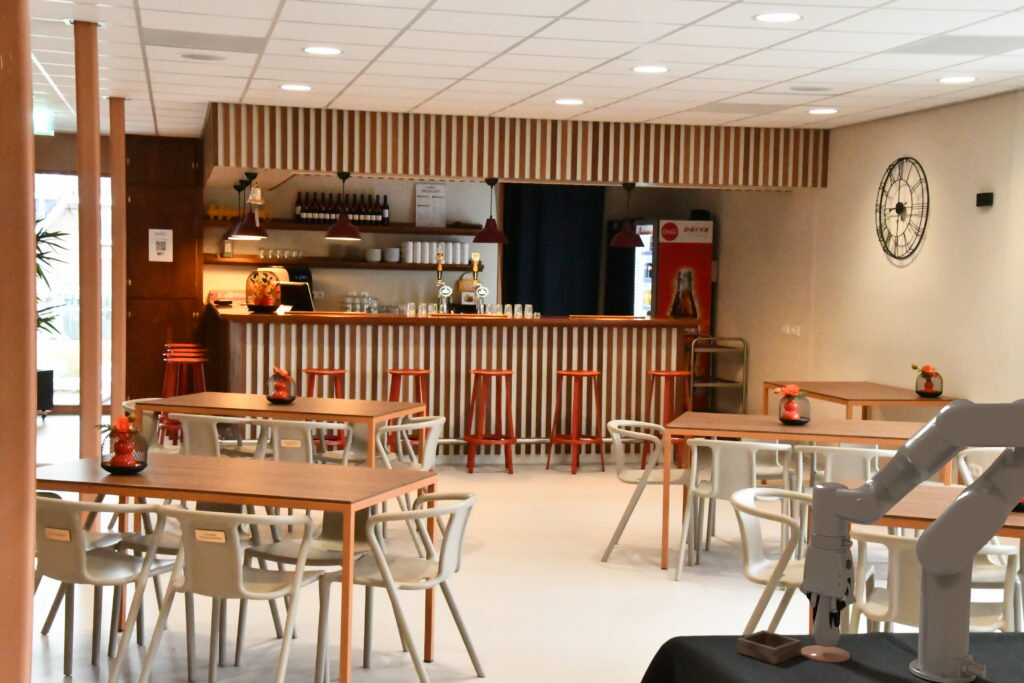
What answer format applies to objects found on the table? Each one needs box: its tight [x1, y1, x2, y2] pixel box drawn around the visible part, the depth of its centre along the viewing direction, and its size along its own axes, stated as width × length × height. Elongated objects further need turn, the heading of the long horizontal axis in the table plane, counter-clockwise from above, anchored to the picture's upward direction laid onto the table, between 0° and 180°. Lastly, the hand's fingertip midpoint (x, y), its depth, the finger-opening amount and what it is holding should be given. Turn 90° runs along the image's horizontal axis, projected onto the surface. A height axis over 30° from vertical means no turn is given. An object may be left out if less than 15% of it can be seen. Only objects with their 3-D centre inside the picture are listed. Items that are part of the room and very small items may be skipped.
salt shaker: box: [811, 590, 841, 647], centre depth 241 cm, size 6×6×13 cm
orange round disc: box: [801, 644, 851, 663], centre depth 241 cm, size 10×10×1 cm
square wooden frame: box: [736, 629, 802, 665], centre depth 241 cm, size 10×10×3 cm
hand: (826, 626), depth 241 cm, fingers closed on salt shaker, 3 cm apart
